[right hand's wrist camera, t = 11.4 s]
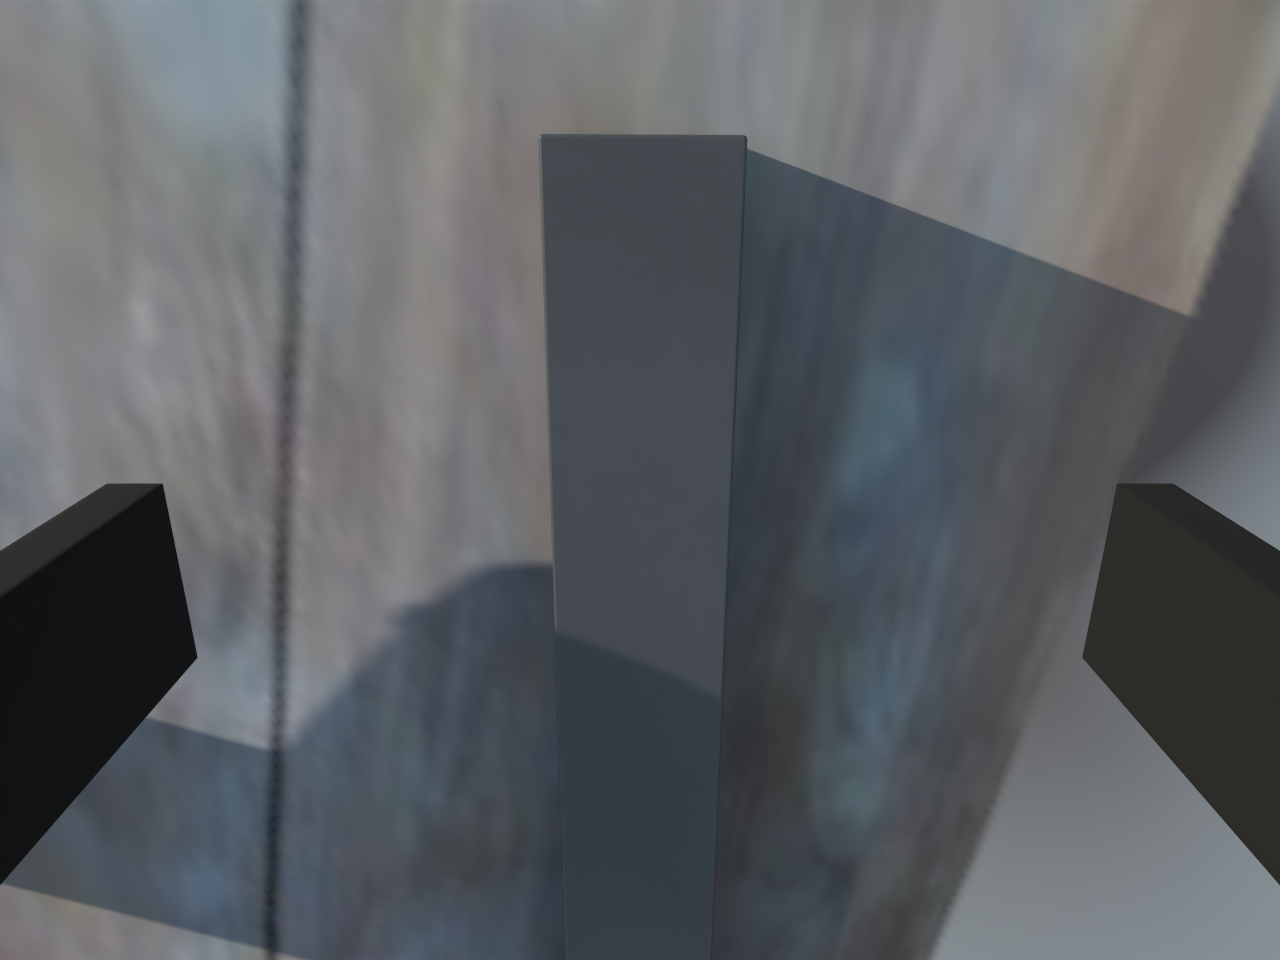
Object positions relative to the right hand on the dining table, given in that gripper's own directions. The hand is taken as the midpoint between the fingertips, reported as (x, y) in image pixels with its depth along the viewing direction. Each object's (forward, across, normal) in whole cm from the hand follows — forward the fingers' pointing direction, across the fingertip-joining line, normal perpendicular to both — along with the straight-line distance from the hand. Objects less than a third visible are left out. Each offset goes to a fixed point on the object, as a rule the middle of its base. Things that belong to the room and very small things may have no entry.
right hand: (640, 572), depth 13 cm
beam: (+21, 0, -23) cm, 31 cm away
